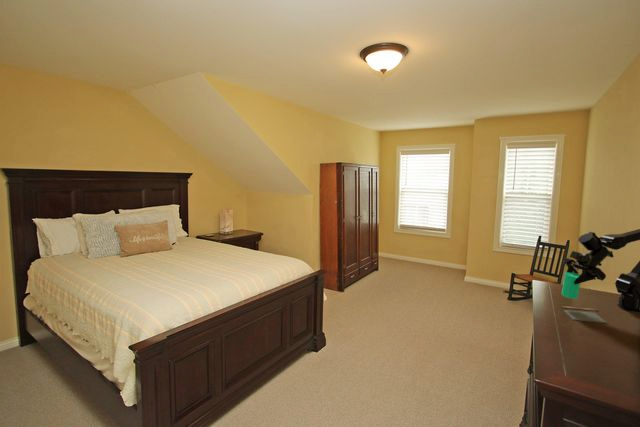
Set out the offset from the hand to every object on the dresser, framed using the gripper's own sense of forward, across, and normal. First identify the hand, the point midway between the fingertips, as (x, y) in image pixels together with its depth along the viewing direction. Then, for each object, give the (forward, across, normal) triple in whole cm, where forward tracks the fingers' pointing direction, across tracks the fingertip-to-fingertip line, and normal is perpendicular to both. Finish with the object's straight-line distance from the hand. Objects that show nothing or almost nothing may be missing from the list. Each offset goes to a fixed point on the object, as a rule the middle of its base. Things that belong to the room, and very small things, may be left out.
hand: (569, 281), depth 152 cm
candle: (+4, -1, +6) cm, 7 cm away
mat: (+9, +8, +10) cm, 16 cm away
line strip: (+5, -1, +14) cm, 15 cm away
